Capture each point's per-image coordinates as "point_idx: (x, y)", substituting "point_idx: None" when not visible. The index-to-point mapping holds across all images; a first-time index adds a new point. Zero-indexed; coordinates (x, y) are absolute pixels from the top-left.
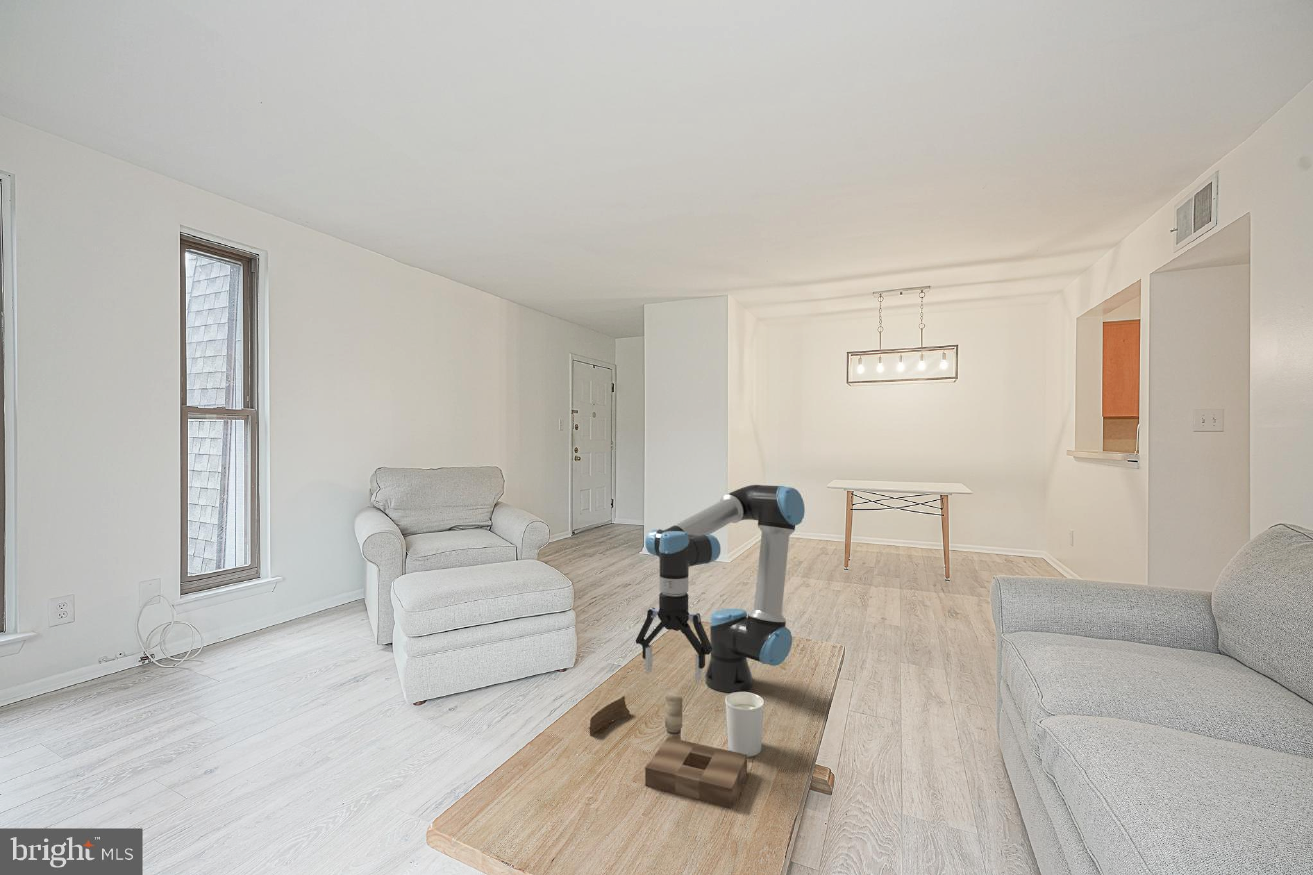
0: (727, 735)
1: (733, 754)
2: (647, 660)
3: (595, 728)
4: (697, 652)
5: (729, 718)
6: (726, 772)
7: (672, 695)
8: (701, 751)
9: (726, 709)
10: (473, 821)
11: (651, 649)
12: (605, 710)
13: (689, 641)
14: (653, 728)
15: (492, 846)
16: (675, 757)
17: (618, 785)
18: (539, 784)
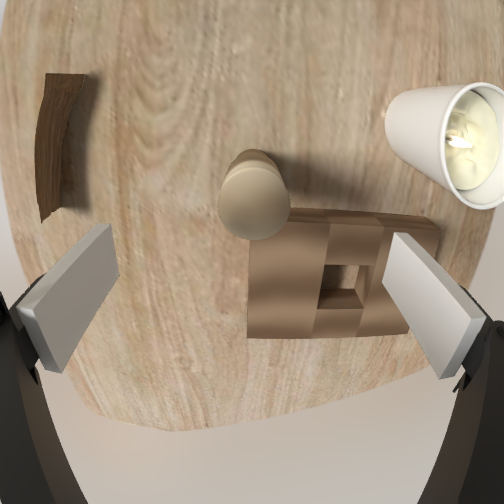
0: (395, 137)
1: (417, 239)
2: (88, 317)
3: (56, 188)
4: (460, 392)
5: (431, 175)
6: None
7: (240, 185)
8: (350, 252)
9: (432, 162)
10: (99, 403)
11: (53, 307)
12: (40, 154)
13: (434, 466)
14: (169, 108)
15: (143, 421)
16: (297, 292)
17: (203, 328)
18: (100, 351)
